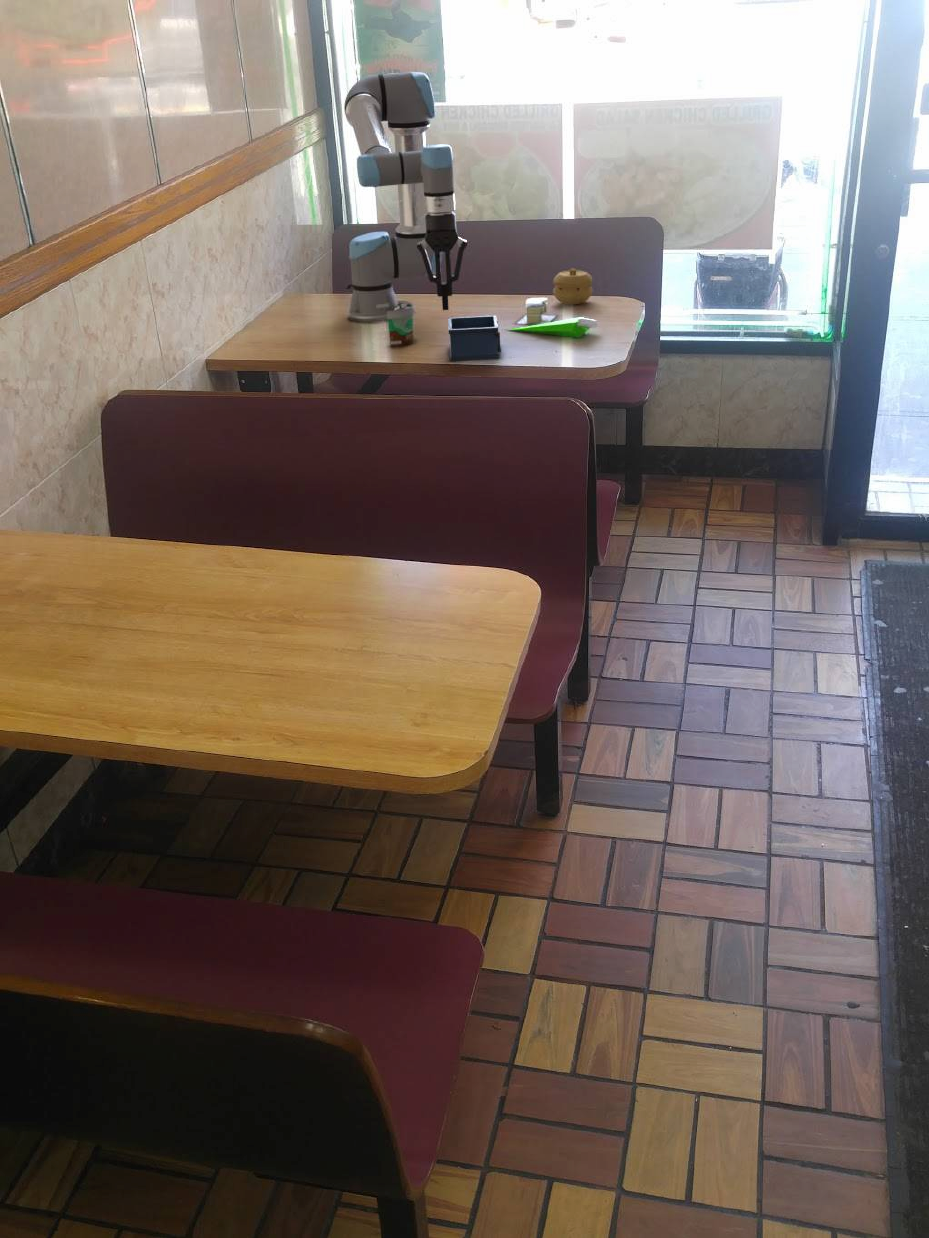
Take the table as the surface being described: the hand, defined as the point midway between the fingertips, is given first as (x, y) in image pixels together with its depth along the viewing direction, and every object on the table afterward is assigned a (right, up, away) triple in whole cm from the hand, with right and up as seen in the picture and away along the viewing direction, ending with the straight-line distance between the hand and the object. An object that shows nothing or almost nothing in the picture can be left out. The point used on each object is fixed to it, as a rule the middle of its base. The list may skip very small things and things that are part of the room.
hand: (445, 308), depth 290 cm
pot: (+37, +15, +48) cm, 63 cm away
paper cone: (+29, -3, +17) cm, 34 cm away
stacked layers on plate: (+26, +6, +33) cm, 42 cm away
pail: (+1, -7, +4) cm, 8 cm away
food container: (-11, -4, +18) cm, 22 cm away
